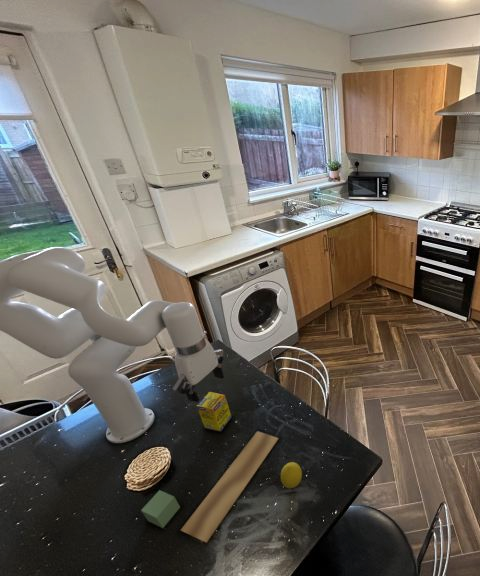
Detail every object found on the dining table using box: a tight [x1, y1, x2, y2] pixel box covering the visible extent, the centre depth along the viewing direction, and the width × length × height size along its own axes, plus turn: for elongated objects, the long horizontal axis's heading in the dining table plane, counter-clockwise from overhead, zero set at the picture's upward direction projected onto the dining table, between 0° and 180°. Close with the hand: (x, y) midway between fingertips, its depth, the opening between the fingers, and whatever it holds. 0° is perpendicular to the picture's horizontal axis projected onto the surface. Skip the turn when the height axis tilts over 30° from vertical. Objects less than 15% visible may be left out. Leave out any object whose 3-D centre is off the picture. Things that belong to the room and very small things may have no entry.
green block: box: [140, 489, 181, 529], centre depth 78 cm, size 5×5×5 cm
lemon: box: [280, 461, 303, 489], centre depth 84 cm, size 6×6×8 cm
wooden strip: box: [180, 430, 280, 544], centre depth 87 cm, size 8×29×1 cm, turn 162°
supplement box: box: [196, 391, 233, 433], centre depth 100 cm, size 6×6×11 cm
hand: (207, 388), depth 95 cm, fingers open, 9 cm apart
